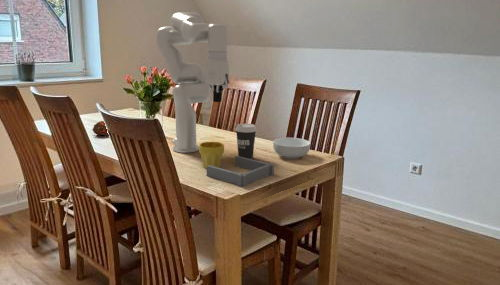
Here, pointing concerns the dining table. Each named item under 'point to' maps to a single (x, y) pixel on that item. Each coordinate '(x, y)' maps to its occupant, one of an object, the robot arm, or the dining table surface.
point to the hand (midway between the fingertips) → (217, 101)
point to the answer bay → (256, 173)
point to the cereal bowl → (291, 147)
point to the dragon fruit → (100, 128)
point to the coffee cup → (245, 140)
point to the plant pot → (211, 153)
